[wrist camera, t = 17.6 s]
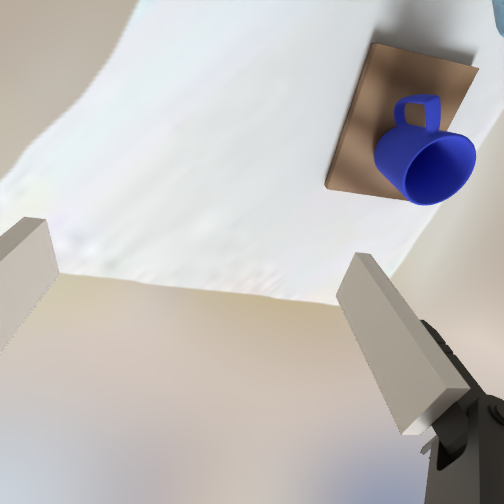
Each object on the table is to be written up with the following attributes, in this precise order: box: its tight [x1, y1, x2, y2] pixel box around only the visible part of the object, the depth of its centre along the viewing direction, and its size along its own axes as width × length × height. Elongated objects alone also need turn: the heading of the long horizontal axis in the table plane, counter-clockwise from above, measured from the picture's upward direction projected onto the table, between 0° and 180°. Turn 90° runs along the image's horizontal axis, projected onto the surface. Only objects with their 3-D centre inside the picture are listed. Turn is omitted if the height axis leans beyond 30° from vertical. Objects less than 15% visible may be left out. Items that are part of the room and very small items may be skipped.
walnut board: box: [325, 43, 479, 201], centre depth 40 cm, size 18×14×2 cm
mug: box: [374, 94, 476, 205], centre depth 35 cm, size 8×12×10 cm
